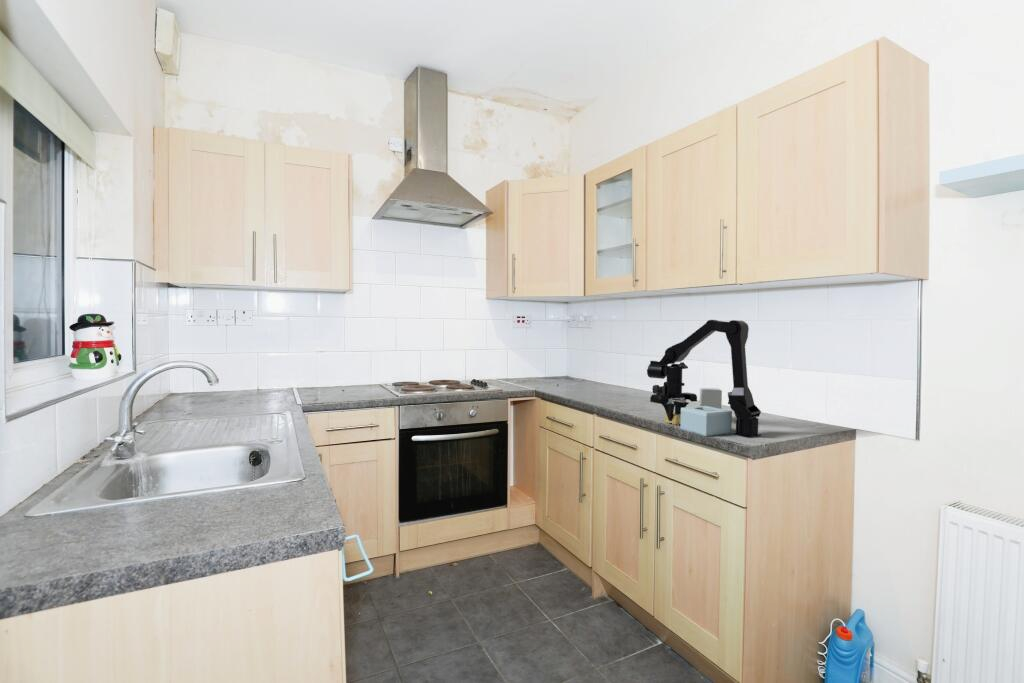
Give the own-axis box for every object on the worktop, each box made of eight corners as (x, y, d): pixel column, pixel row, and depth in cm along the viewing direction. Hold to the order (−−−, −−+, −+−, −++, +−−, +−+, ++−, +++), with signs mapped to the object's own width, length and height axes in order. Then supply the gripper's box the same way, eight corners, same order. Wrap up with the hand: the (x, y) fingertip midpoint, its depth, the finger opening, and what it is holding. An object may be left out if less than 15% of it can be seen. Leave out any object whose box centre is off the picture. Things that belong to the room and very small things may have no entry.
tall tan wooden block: (670, 421, 199) (671, 411, 199) (682, 424, 193) (682, 414, 193) (664, 422, 198) (665, 412, 197) (675, 425, 192) (676, 414, 192)
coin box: (731, 433, 178) (731, 410, 178) (706, 436, 173) (706, 413, 173) (705, 427, 189) (705, 405, 189) (680, 429, 184) (680, 407, 184)
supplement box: (721, 422, 199) (722, 390, 199) (701, 421, 201) (702, 389, 200) (717, 419, 206) (718, 388, 206) (698, 418, 208) (699, 387, 208)
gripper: (677, 377, 206) (676, 415, 207) (641, 378, 198) (640, 418, 199) (698, 379, 196) (697, 420, 197) (660, 381, 188) (660, 423, 189)
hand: (673, 420), depth 195 cm, fingers closed on tall tan wooden block, 3 cm apart
